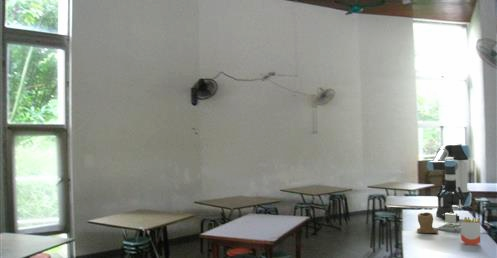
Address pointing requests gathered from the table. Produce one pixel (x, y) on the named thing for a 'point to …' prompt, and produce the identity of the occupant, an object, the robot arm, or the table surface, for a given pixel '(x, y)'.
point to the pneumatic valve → (450, 219)
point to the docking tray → (445, 228)
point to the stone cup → (426, 223)
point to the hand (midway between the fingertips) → (451, 207)
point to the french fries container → (470, 231)
